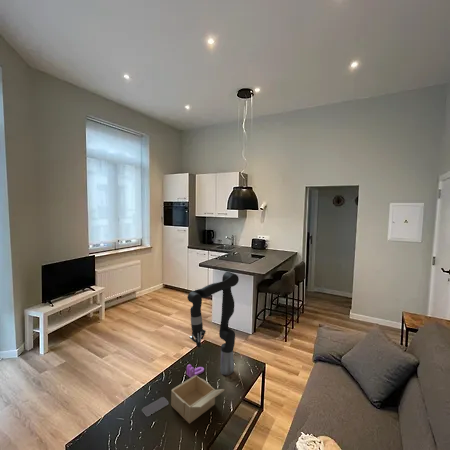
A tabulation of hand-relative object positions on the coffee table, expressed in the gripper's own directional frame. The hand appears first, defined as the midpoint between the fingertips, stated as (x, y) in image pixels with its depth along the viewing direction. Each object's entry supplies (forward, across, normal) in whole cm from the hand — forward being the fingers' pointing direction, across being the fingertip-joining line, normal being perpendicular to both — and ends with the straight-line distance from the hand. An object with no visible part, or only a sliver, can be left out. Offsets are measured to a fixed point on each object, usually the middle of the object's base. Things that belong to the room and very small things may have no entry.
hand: (198, 346), depth 170 cm
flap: (+18, -13, -21) cm, 31 cm away
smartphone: (+27, -31, +8) cm, 42 cm away
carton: (+29, -14, -7) cm, 33 cm away
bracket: (+29, +7, +15) cm, 34 cm away
